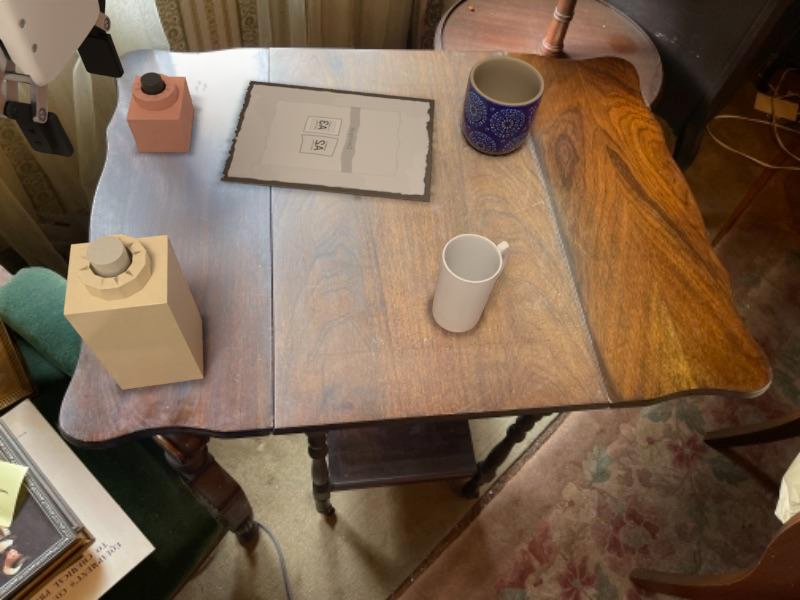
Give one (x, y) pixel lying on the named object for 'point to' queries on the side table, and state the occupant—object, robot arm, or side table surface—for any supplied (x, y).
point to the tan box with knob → (137, 314)
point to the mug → (466, 280)
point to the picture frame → (333, 141)
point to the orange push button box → (162, 116)
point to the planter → (501, 103)
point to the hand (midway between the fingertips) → (81, 110)
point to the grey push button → (108, 256)
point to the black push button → (152, 83)
